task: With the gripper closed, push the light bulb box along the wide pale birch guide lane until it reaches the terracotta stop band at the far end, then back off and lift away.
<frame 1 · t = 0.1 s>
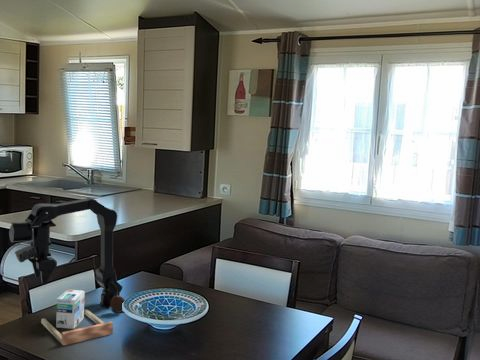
hand: (40, 280, 178), 14 cm above the table, tool pointing down, fingers open, 9 cm apart
dark brown rounded lump: (118, 311, 192), on the table
light bulb box: (70, 323, 177), on the table
guide lane: (75, 327, 174), on the table
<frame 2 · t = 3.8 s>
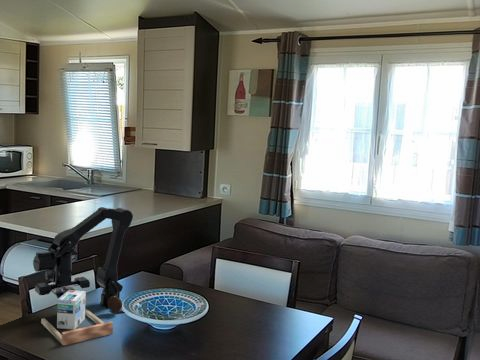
hand: (62, 307, 183), 3 cm above the table, tool pointing down, fingers closed
light bulb box: (71, 324, 177), on the table, touching gripper
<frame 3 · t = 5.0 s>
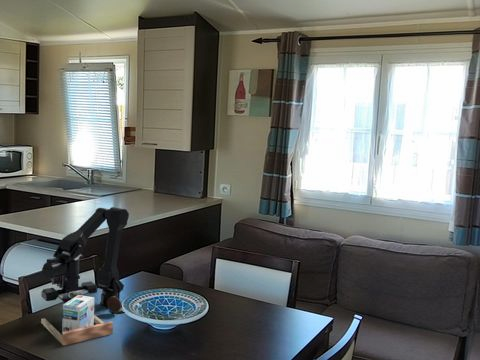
hand: (69, 313, 178), 3 cm above the table, tool pointing down, fingers closed
light bulb box: (78, 330, 172), on the table, touching gripper
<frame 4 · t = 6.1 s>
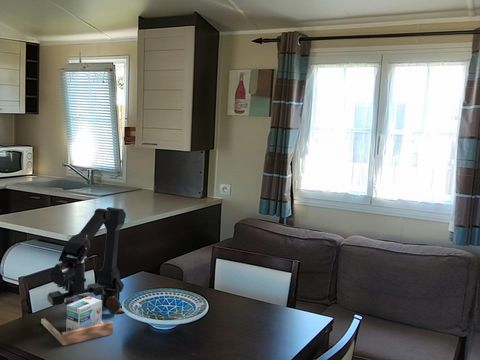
hand: (76, 316, 176), 3 cm above the table, tool pointing down, fingers closed
light bulb box: (83, 332, 170), on the table, touching gripper, guide lane
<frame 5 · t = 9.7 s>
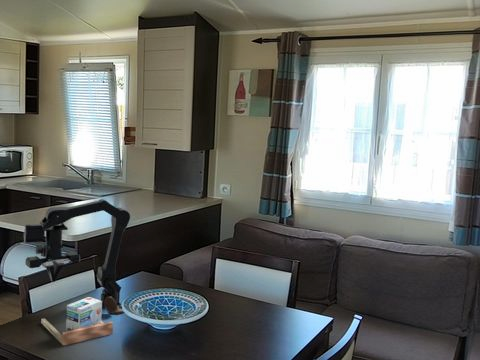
hand: (52, 281, 185), 12 cm above the table, tool pointing down, fingers closed
light bulb box: (83, 332, 170), on the table
at the end: light bulb box inside the target area (1.3 cm from its centre), on the table; light bulb box tilted 0°; light bulb box moved 10.1 cm from its start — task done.
